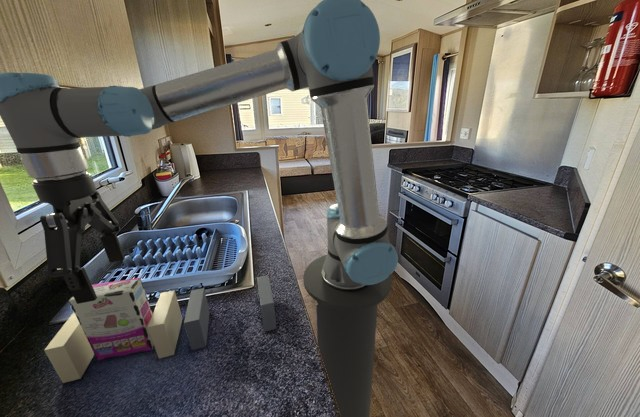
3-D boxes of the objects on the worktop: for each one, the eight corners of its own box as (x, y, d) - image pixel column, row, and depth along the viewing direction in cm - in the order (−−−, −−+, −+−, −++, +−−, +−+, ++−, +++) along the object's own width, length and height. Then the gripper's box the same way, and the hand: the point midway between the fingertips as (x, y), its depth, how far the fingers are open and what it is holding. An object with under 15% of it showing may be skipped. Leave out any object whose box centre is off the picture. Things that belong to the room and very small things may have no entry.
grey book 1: (209, 312, 69) (204, 287, 66) (205, 346, 59) (198, 319, 56) (197, 315, 68) (191, 290, 65) (191, 350, 58) (183, 323, 55)
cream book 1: (104, 335, 62) (91, 306, 59) (80, 378, 52) (63, 345, 49) (89, 339, 61) (75, 309, 58) (62, 383, 52) (43, 350, 48)
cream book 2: (182, 318, 67) (174, 290, 63) (174, 354, 57) (163, 323, 54) (169, 321, 66) (160, 292, 63) (158, 358, 56) (147, 327, 53)
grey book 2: (270, 299, 73) (268, 275, 70) (276, 328, 63) (273, 302, 60) (260, 301, 72) (256, 277, 69) (264, 332, 62) (260, 305, 59)
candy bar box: (160, 333, 63) (141, 276, 57) (153, 350, 58) (131, 291, 52) (108, 342, 61) (82, 284, 54) (95, 361, 56) (66, 300, 50)
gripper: (74, 163, 55) (108, 251, 62) (-35, 202, 32) (40, 330, 40) (116, 160, 57) (144, 245, 64) (40, 194, 34) (97, 318, 42)
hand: (104, 278), depth 52 cm, fingers open, 13 cm apart
